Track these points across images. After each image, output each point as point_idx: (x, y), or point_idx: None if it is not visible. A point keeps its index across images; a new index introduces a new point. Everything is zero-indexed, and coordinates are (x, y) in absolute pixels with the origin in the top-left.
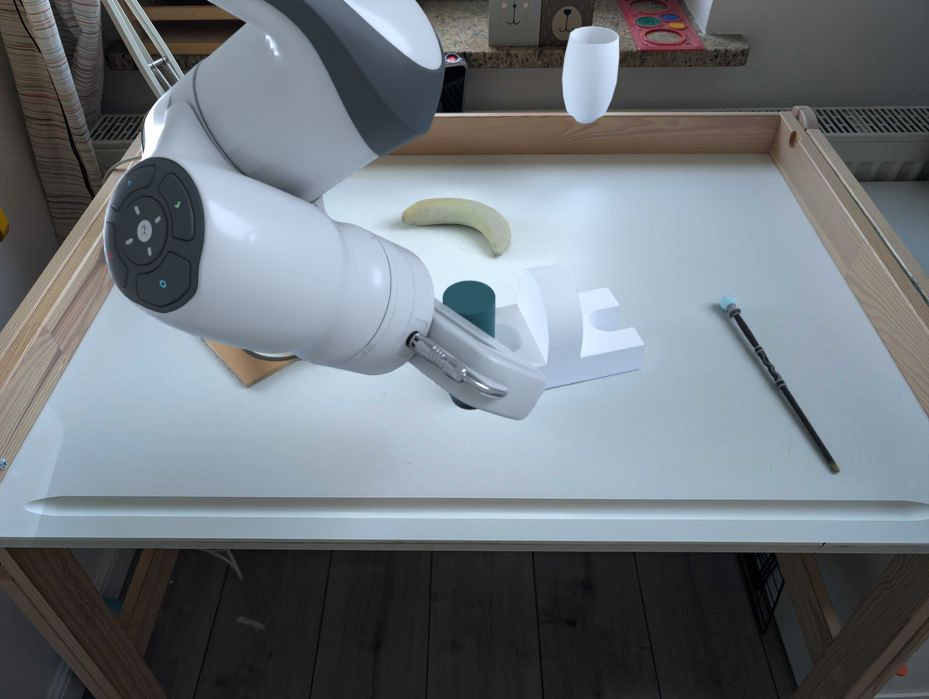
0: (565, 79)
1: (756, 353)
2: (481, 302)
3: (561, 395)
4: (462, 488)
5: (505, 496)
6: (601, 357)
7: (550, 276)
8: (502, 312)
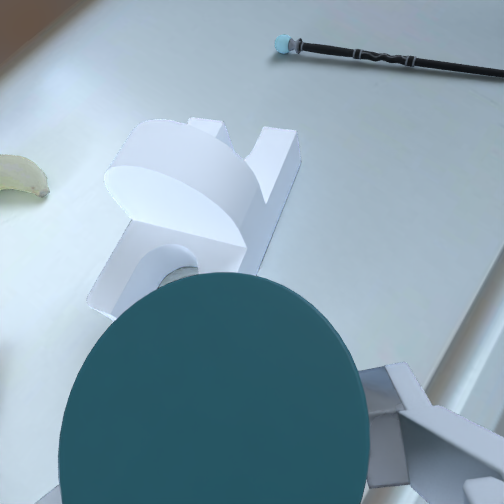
0: None
1: (358, 58)
2: (292, 385)
3: (279, 259)
4: None
5: None
6: (278, 183)
7: (152, 145)
8: (128, 244)
